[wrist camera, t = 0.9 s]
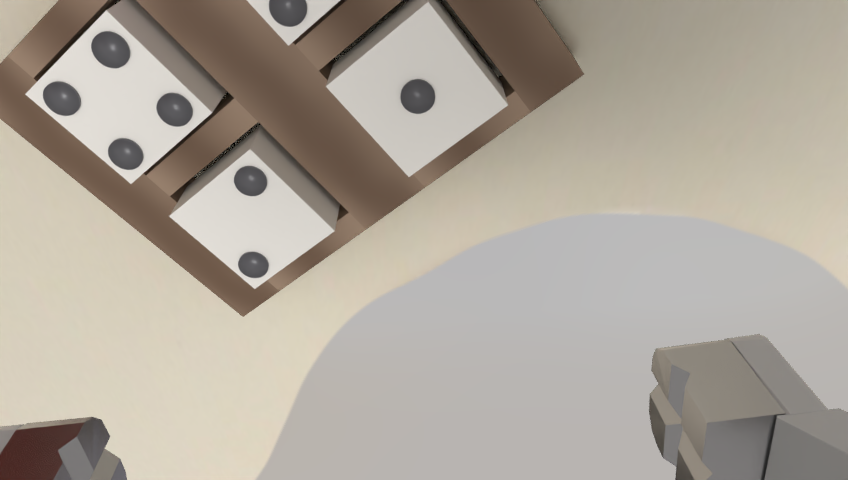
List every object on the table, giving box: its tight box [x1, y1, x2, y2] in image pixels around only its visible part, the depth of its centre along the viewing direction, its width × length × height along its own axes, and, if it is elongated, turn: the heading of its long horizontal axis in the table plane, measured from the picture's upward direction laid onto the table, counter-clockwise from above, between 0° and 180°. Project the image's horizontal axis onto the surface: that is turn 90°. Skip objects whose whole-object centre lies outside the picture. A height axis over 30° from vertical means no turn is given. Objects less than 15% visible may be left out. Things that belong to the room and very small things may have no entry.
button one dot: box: [326, 0, 508, 177], centre depth 32 cm, size 6×6×3 cm
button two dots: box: [169, 125, 340, 289], centre depth 36 cm, size 6×6×3 cm
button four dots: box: [25, 0, 227, 184], centre depth 32 cm, size 6×6×3 cm
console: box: [0, 0, 584, 317], centre depth 34 cm, size 24×18×3 cm
